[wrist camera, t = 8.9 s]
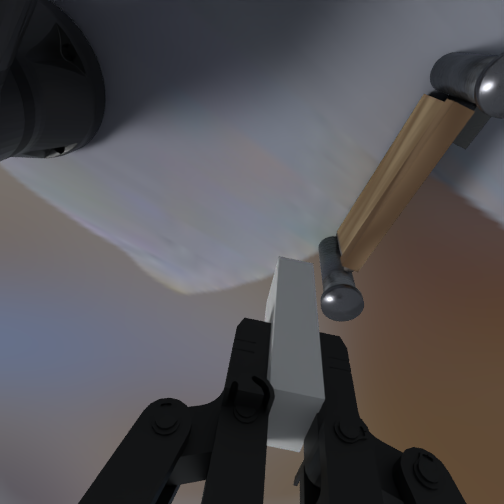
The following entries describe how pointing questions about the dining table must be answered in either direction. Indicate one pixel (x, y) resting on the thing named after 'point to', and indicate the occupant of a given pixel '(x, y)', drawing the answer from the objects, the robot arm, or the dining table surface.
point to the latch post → (472, 88)
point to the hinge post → (337, 284)
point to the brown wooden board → (399, 177)
